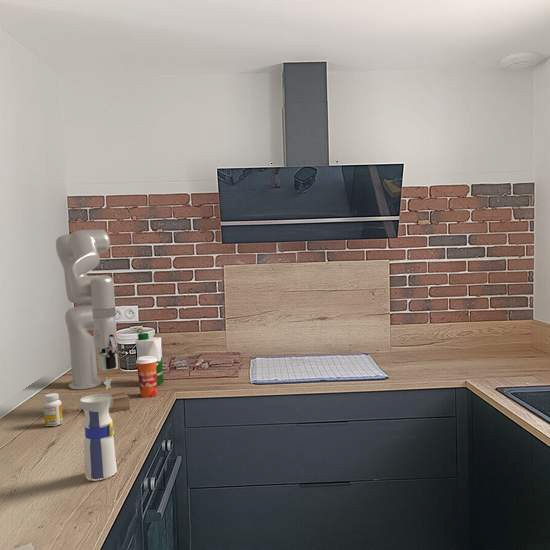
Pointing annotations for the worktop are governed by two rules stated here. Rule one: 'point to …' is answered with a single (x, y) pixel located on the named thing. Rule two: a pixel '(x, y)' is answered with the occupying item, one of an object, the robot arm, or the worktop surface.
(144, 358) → the paper cup
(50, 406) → the supplement bottle
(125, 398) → the walnut block
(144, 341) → the milk carton
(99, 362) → the sage block
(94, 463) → the white blue vase
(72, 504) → the worktop surface
